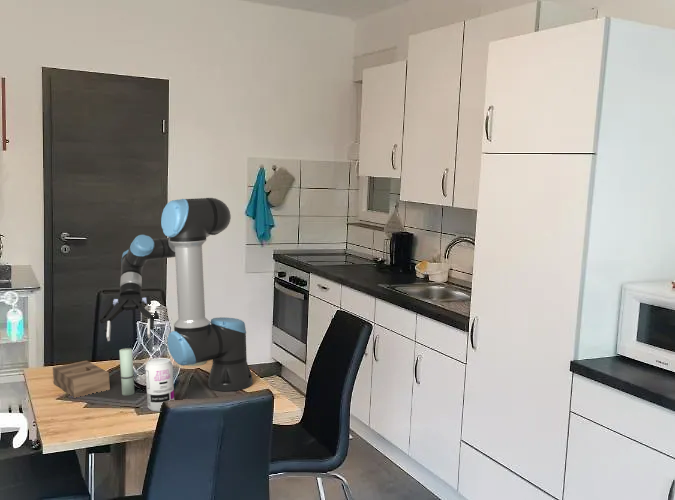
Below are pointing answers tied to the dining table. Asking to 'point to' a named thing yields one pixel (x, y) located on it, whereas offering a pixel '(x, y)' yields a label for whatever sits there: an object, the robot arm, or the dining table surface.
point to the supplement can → (159, 382)
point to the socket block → (81, 378)
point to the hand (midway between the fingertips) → (128, 337)
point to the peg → (126, 371)
